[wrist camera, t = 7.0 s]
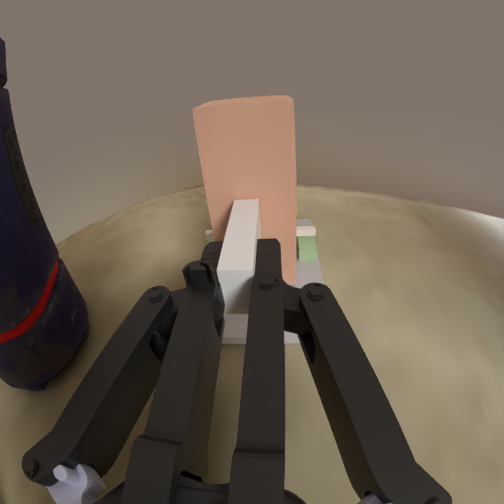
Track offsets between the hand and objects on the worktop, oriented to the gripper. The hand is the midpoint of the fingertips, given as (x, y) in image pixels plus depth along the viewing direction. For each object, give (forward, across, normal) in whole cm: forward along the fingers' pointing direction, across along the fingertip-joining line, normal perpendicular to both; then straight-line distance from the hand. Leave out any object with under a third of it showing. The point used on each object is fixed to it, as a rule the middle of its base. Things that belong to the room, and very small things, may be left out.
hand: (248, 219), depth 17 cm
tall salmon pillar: (+3, 0, -6) cm, 7 cm away
